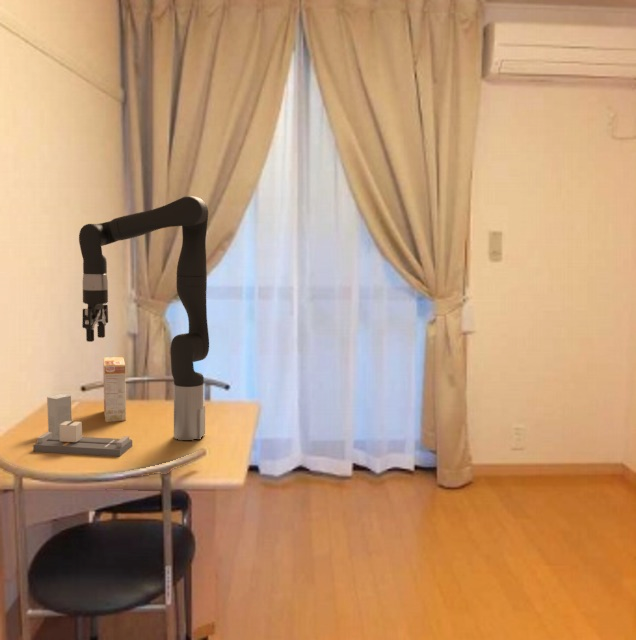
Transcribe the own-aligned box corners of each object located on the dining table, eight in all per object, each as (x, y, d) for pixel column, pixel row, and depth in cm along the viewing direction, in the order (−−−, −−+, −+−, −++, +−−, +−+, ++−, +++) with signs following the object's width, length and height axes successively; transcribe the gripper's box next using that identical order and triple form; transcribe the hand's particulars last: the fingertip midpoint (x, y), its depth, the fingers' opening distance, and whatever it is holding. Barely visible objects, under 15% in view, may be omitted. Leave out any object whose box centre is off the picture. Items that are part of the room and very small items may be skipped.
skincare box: (63, 429, 228) (62, 393, 227) (72, 431, 226) (71, 395, 224) (47, 434, 223) (46, 396, 221) (56, 436, 221) (55, 398, 219)
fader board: (132, 445, 213) (132, 434, 213) (120, 456, 203) (119, 444, 203) (49, 441, 215) (49, 430, 215) (33, 451, 206) (33, 439, 205)
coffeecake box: (103, 410, 252) (103, 357, 250) (124, 409, 254) (123, 356, 252) (104, 422, 238) (103, 365, 236) (126, 420, 240) (125, 364, 238)
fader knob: (81, 438, 211) (81, 421, 210) (76, 442, 207) (75, 425, 206) (65, 437, 212) (65, 420, 211) (59, 441, 208) (59, 424, 207)
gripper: (97, 290, 213) (98, 343, 215) (115, 286, 227) (116, 336, 229) (73, 289, 214) (74, 342, 216) (93, 286, 228) (93, 335, 230)
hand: (95, 339), depth 223 cm, fingers open, 8 cm apart
